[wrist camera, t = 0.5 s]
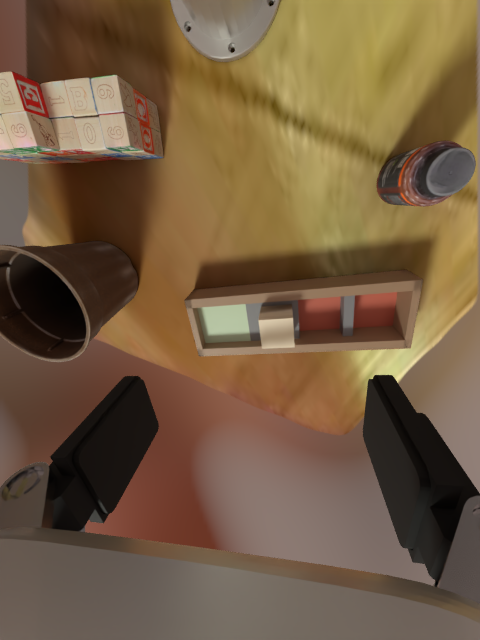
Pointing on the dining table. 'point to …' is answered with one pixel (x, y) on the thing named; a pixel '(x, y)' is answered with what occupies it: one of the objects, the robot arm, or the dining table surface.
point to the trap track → (310, 313)
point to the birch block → (276, 326)
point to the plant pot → (61, 295)
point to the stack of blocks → (76, 121)
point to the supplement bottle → (426, 174)
